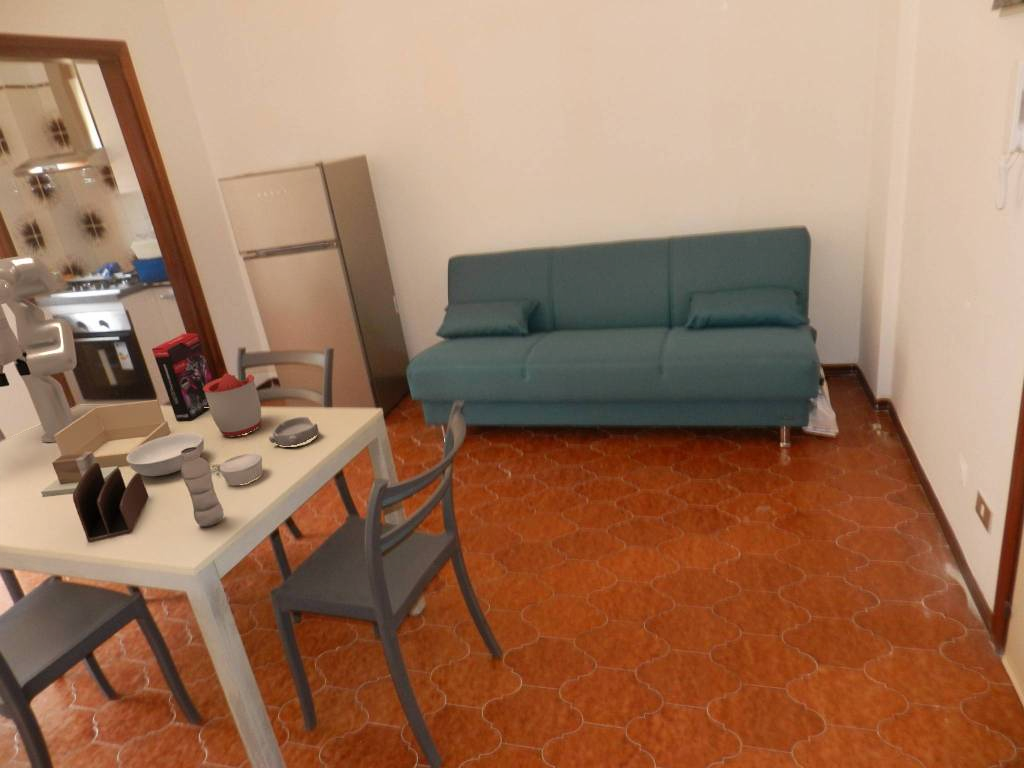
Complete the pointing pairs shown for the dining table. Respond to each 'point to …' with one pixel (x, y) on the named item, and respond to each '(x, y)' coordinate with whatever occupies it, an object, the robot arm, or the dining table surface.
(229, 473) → the ramekin
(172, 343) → the graphics card box
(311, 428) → the dish
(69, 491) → the board
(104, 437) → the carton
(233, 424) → the citrus juicer
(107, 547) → the dining table surface
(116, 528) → the letter holder
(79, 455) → the walnut box
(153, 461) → the serving bowl
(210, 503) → the plastic bottle
